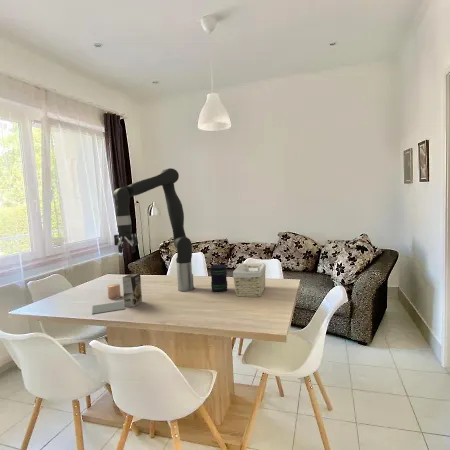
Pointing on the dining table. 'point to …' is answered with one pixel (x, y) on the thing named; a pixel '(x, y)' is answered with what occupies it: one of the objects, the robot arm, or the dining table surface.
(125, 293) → the coffee box
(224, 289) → the storage jar
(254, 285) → the storage basket
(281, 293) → the dining table surface
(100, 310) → the mat
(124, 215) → the robot arm
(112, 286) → the peach rounded knob
